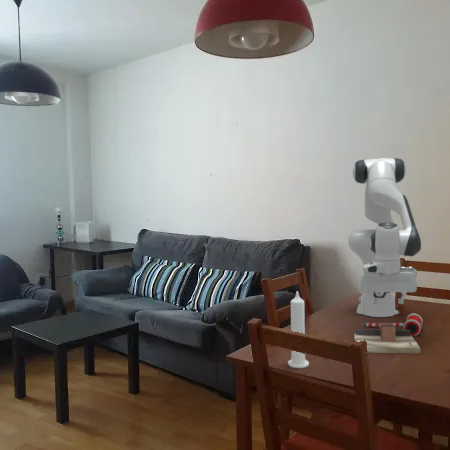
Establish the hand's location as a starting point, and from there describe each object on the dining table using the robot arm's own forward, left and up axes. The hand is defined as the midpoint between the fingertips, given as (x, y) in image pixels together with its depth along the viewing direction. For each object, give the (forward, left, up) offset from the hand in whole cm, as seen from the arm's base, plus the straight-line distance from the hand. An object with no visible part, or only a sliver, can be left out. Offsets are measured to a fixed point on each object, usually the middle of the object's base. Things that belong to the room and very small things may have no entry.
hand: (387, 303), depth 184 cm
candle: (+24, -33, -16) cm, 44 cm away
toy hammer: (-19, +7, -16) cm, 25 cm away
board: (+2, -1, -15) cm, 16 cm away
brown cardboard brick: (0, 0, -13) cm, 13 cm away
